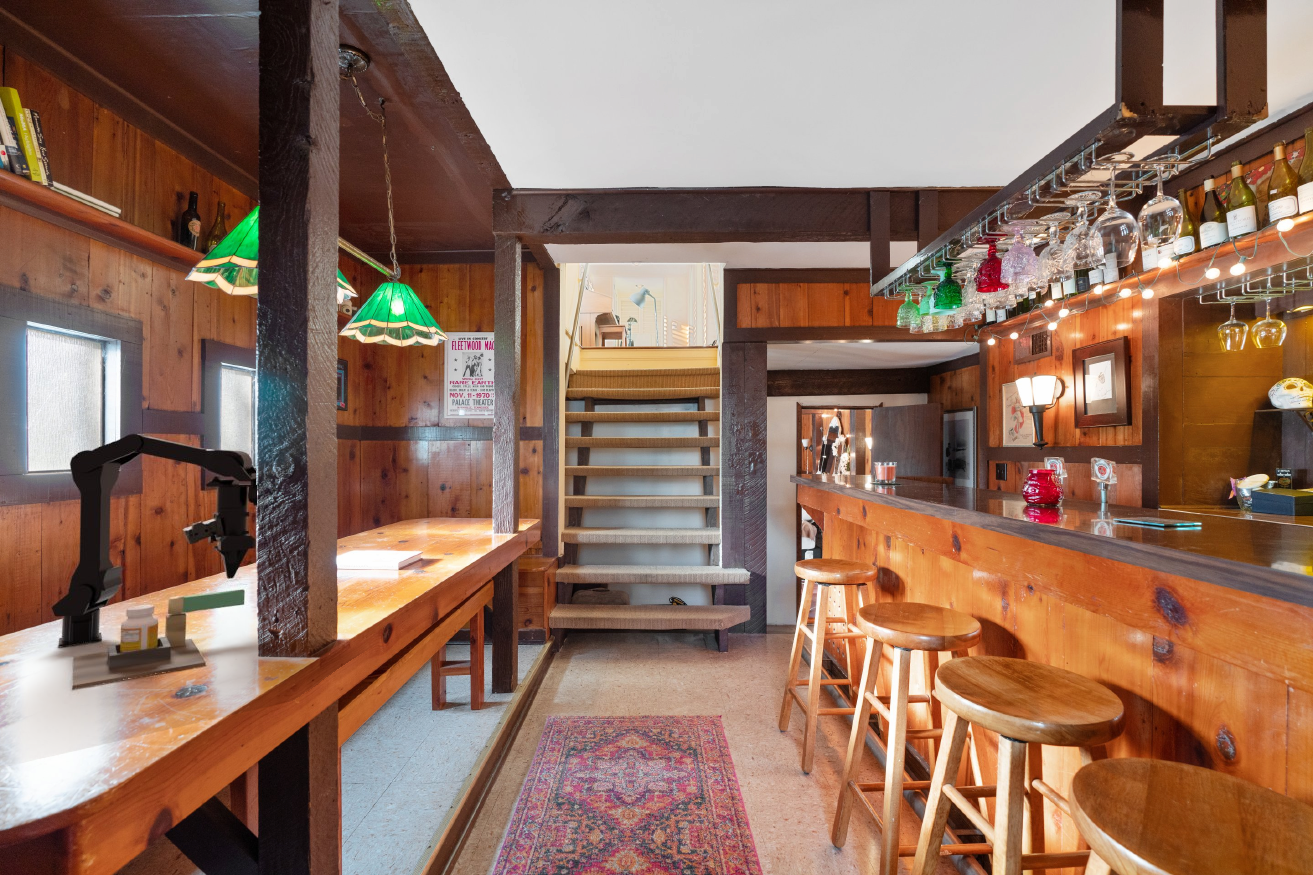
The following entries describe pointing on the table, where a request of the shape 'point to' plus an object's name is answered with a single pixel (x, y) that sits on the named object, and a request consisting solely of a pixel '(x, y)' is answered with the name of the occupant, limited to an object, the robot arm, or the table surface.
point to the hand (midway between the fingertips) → (230, 578)
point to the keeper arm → (205, 601)
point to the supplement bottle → (139, 629)
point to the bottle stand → (139, 658)
